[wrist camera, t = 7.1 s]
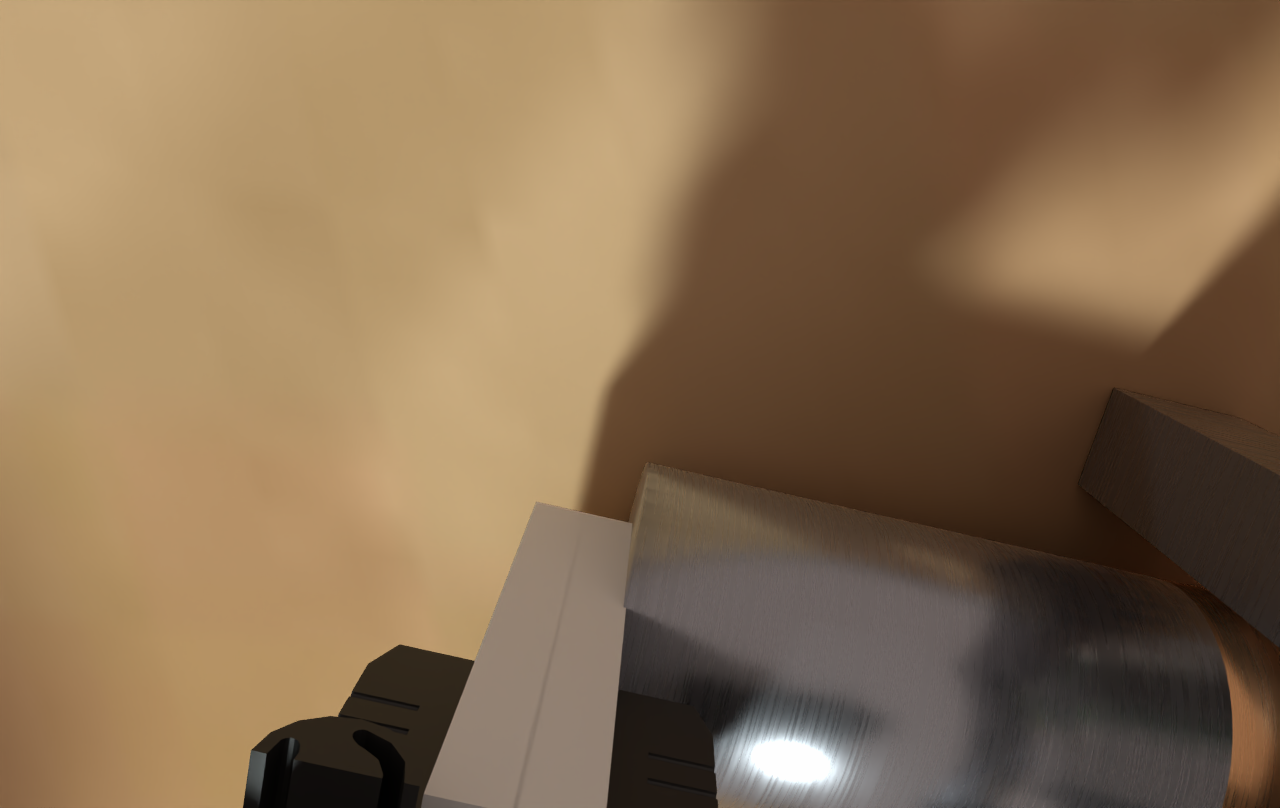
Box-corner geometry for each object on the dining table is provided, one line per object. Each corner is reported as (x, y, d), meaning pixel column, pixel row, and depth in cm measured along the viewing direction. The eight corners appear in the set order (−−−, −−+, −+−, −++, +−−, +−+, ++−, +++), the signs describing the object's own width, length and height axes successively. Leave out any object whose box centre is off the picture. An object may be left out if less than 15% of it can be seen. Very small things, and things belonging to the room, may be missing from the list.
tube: (586, 698, 16) (568, 850, 11) (646, 441, 15) (650, 497, 11) (1617, 925, 16) (1976, 1152, 12) (1704, 682, 16) (2111, 827, 11)
